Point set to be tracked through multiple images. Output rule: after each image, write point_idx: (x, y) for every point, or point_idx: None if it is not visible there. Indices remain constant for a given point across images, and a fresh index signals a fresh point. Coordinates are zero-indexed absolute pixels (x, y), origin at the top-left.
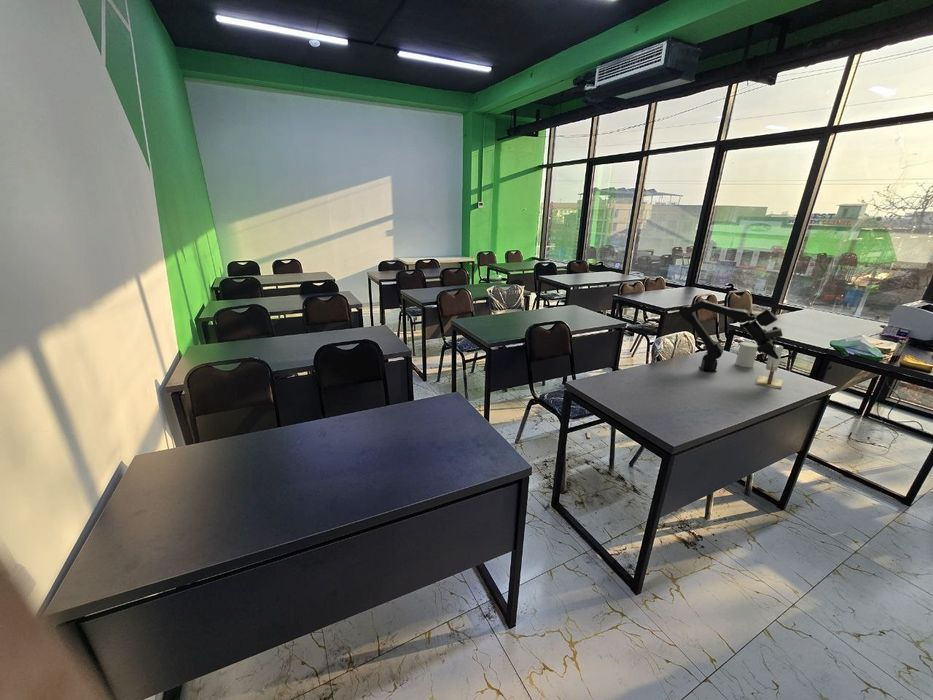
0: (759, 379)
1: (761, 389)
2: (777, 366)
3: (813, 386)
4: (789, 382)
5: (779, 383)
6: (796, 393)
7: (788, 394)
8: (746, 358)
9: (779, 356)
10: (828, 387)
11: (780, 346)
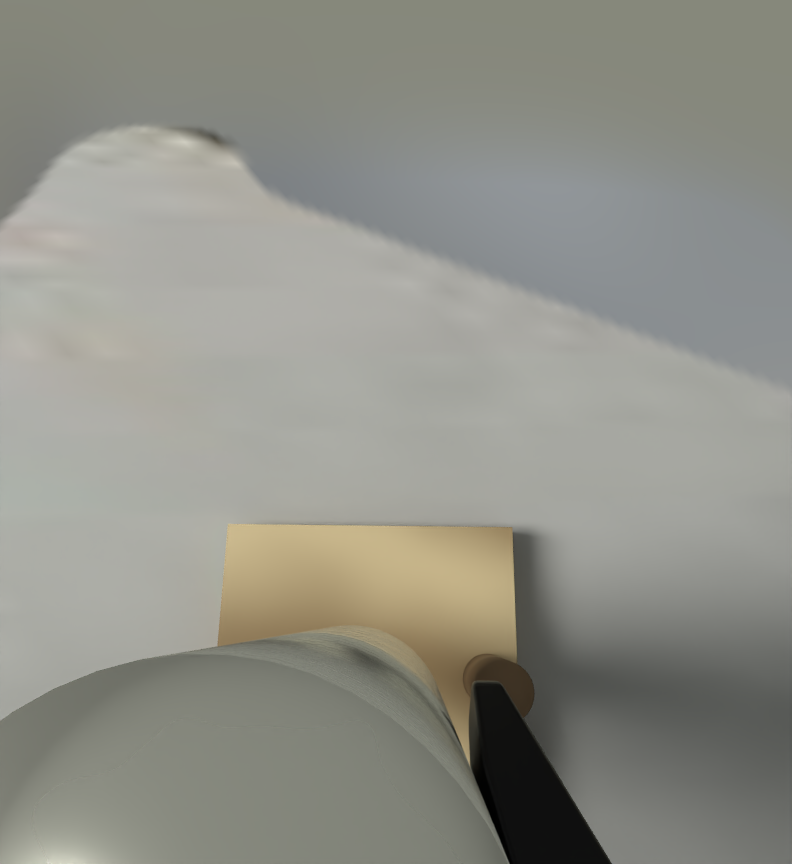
0: None
1: (707, 749)
2: (392, 639)
3: (168, 241)
4: (180, 453)
5: (395, 555)
6: (534, 380)
7: (636, 451)
8: None
9: (406, 675)
10: (112, 131)
11: (121, 835)
